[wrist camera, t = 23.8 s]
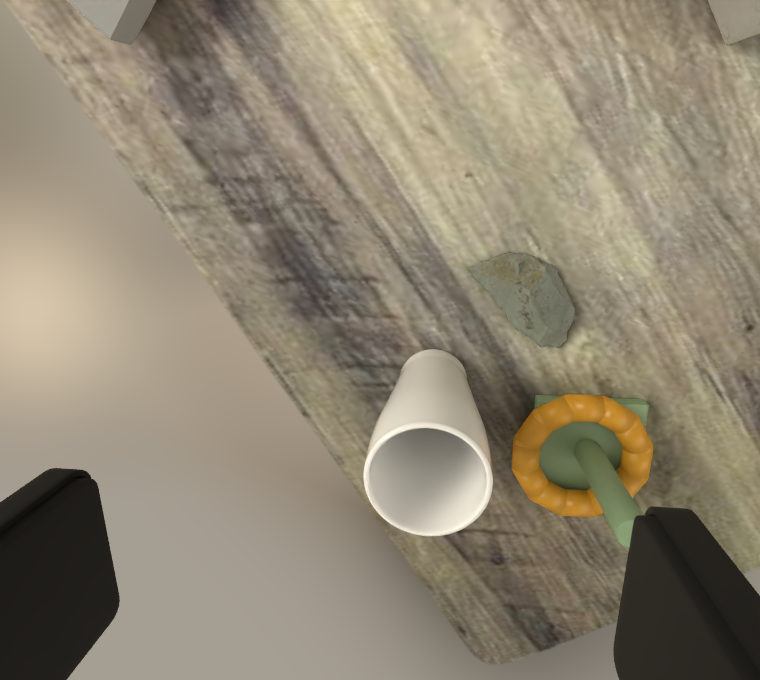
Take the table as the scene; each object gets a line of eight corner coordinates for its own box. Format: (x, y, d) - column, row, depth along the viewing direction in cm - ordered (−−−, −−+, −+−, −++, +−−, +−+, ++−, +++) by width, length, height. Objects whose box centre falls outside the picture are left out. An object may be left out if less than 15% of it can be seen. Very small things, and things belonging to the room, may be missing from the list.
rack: (535, 394, 39) (570, 469, 28) (643, 398, 38) (721, 478, 27) (527, 483, 41) (556, 585, 30) (629, 490, 40) (696, 597, 29)
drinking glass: (468, 423, 40) (481, 549, 26) (386, 410, 41) (354, 526, 26) (483, 344, 38) (506, 434, 24) (396, 332, 39) (368, 411, 24)
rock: (543, 359, 38) (597, 316, 36) (547, 366, 36) (605, 321, 34) (463, 271, 37) (515, 224, 36) (464, 274, 35) (519, 224, 34)
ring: (514, 388, 38) (518, 398, 36) (653, 392, 36) (665, 403, 34) (507, 502, 40) (510, 517, 38) (636, 509, 39) (646, 526, 37)
